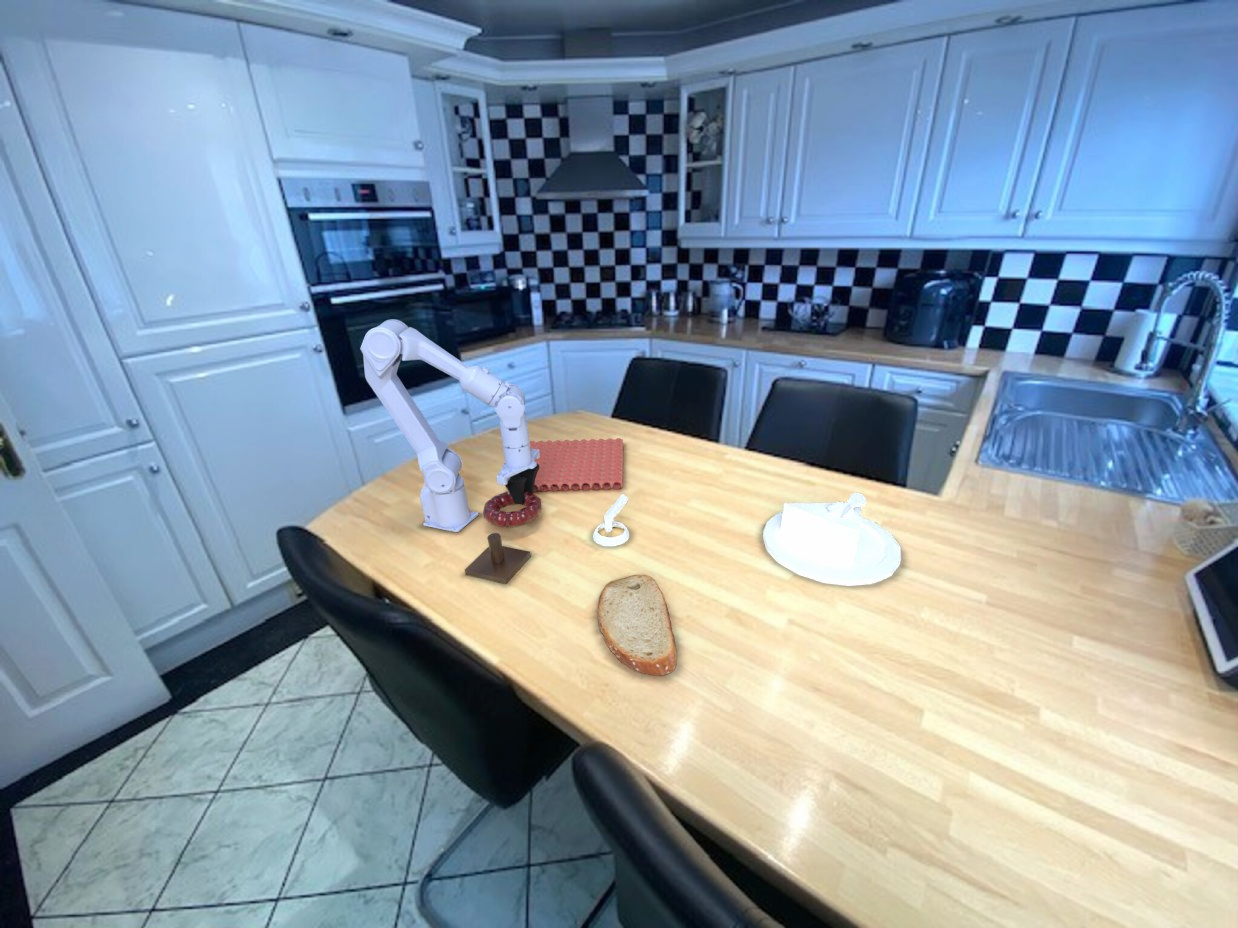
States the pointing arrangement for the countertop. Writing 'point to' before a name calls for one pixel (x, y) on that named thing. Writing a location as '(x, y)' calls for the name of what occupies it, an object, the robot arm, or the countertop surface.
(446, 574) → the countertop surface
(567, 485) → the egg carton
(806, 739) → the countertop surface
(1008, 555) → the countertop surface
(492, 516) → the ring
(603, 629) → the bread slice
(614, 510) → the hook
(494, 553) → the post
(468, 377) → the robot arm
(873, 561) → the dish
